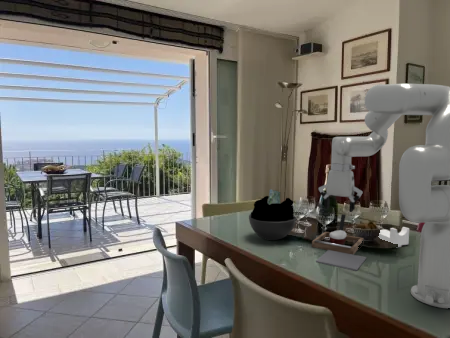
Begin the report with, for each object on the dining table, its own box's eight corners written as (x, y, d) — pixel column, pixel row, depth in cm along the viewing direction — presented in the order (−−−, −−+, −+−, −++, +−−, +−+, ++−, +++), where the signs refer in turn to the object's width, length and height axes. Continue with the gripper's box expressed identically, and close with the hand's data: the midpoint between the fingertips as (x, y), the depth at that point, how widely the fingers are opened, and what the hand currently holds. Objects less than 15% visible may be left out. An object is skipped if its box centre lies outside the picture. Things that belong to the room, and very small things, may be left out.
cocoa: (334, 250, 136) (335, 221, 134) (323, 245, 142) (324, 216, 140) (352, 246, 140) (353, 217, 138) (341, 241, 146) (342, 213, 144)
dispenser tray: (353, 255, 130) (353, 247, 129) (311, 246, 138) (312, 239, 138) (363, 243, 143) (363, 237, 142) (324, 237, 152) (325, 230, 151)
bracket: (408, 246, 141) (409, 228, 140) (394, 248, 139) (395, 229, 138) (385, 237, 153) (385, 220, 152) (371, 238, 151) (372, 221, 150)
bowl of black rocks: (239, 238, 150) (239, 195, 148) (270, 230, 163) (271, 190, 161) (273, 250, 135) (274, 202, 133) (304, 240, 147) (306, 196, 145)
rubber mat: (356, 270, 114) (356, 269, 114) (315, 262, 122) (315, 260, 122) (366, 258, 126) (366, 257, 126) (328, 251, 134) (328, 249, 134)
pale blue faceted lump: (243, 216, 191) (249, 185, 191) (273, 221, 199) (279, 191, 199) (259, 223, 174) (266, 188, 175) (291, 228, 182) (298, 195, 183)
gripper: (365, 168, 136) (363, 211, 137) (322, 165, 145) (321, 205, 147) (361, 170, 129) (359, 214, 131) (316, 167, 139) (315, 208, 141)
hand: (339, 209), depth 139 cm, fingers open, 9 cm apart
